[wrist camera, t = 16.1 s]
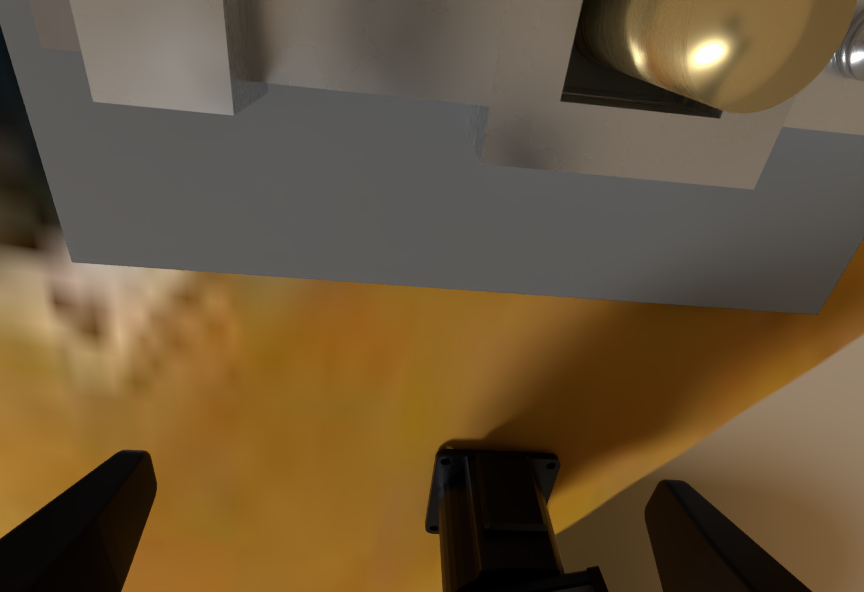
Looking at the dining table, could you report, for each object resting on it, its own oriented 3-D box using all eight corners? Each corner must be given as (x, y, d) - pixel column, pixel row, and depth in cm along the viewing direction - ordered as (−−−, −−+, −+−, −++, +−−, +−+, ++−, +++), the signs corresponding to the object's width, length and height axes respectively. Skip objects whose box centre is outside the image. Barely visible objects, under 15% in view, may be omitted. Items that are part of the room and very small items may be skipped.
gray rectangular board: (804, 304, 22) (818, 314, 21) (84, 252, 19) (72, 262, 18) (1090, -189, 13) (1127, -199, 13) (-102, -402, 11) (-136, -428, 10)
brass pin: (655, 64, 16) (816, 112, 10) (562, 65, 15) (668, 115, 10) (680, -52, 14) (890, -78, 8) (576, -51, 14) (715, -79, 8)
